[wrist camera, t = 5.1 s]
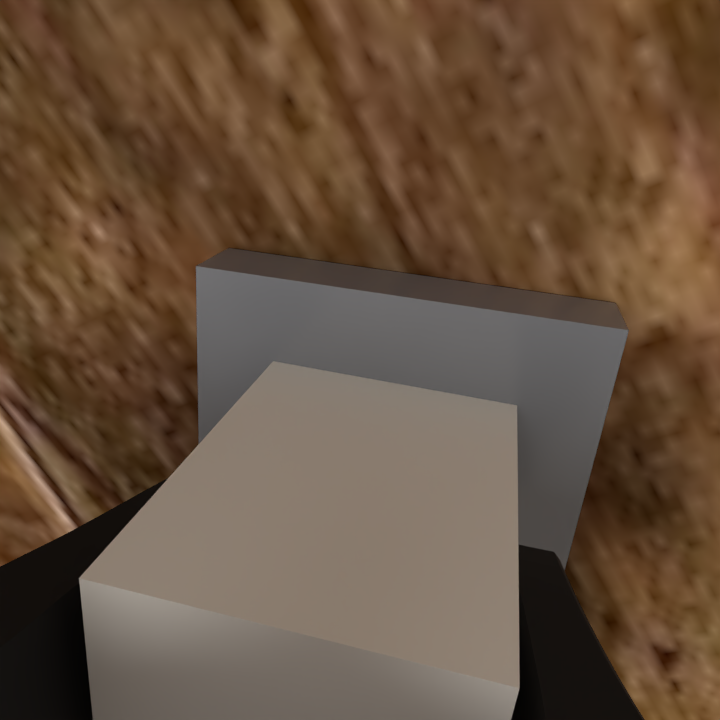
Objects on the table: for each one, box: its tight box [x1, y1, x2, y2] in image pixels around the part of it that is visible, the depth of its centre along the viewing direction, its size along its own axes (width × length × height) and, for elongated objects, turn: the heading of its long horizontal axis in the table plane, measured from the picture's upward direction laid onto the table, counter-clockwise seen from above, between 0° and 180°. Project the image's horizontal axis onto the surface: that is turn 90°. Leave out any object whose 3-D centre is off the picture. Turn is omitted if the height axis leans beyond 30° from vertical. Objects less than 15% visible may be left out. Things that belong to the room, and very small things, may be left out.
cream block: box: [79, 361, 520, 720], centre depth 10 cm, size 4×4×6 cm
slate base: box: [196, 248, 629, 571], centre depth 13 cm, size 8×8×2 cm
